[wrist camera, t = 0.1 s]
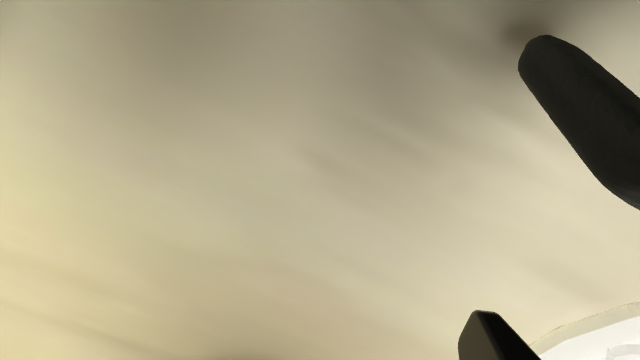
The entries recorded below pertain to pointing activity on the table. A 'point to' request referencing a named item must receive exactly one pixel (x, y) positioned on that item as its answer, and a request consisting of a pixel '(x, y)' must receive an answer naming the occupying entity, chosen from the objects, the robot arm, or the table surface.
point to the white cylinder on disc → (595, 337)
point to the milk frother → (588, 111)
